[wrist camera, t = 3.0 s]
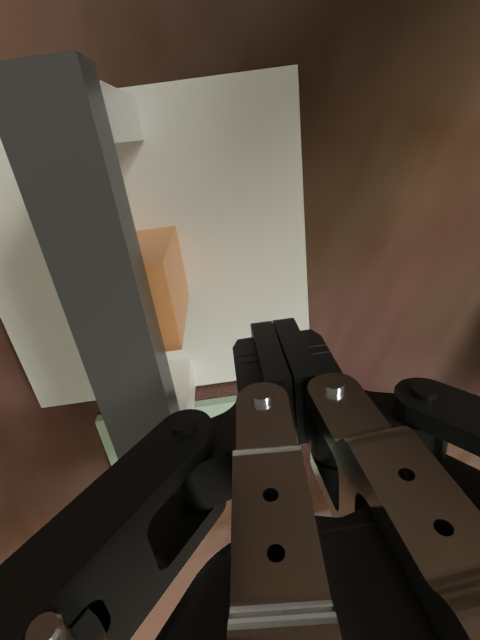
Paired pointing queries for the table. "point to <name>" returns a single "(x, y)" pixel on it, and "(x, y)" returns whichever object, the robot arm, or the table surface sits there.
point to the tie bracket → (182, 224)
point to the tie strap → (87, 235)
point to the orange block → (166, 282)
